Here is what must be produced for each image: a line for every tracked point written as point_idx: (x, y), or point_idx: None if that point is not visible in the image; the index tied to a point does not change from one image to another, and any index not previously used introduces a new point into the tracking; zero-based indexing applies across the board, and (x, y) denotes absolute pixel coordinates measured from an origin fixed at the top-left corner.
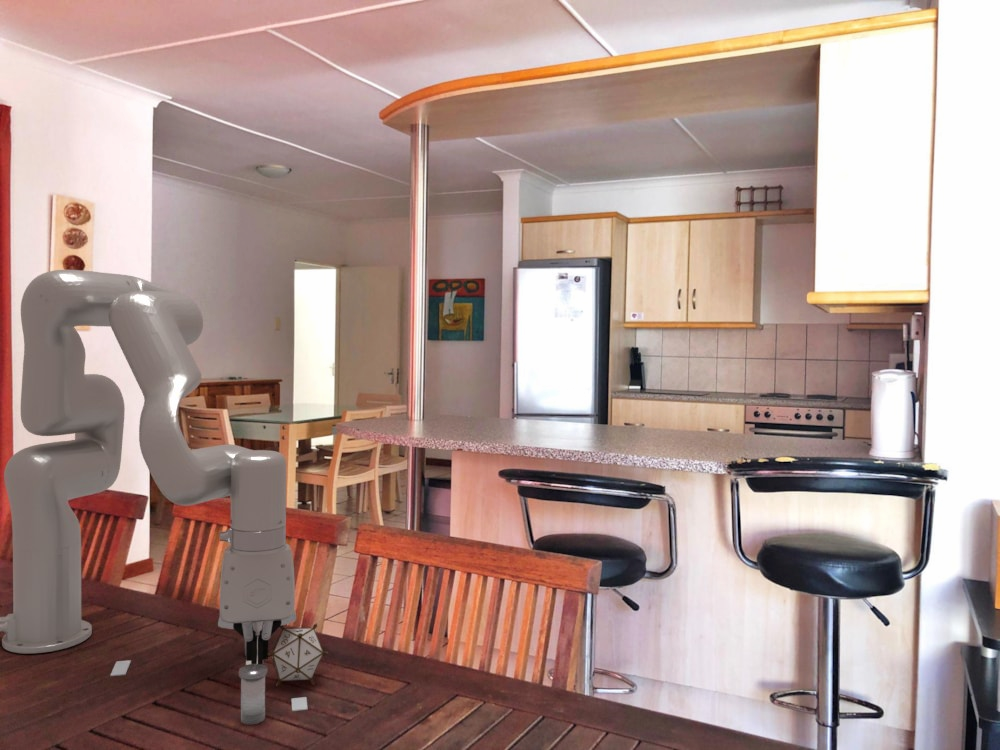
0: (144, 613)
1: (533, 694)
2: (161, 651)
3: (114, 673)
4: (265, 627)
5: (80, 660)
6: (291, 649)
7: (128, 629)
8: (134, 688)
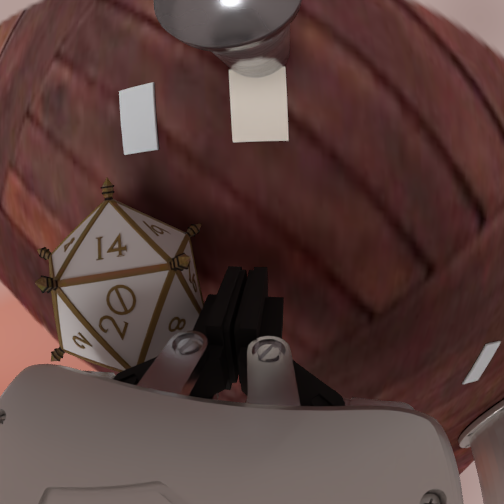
0: None
1: None
2: (416, 408)
3: (495, 347)
4: (176, 374)
5: (500, 382)
6: (98, 254)
7: None
8: (493, 294)
